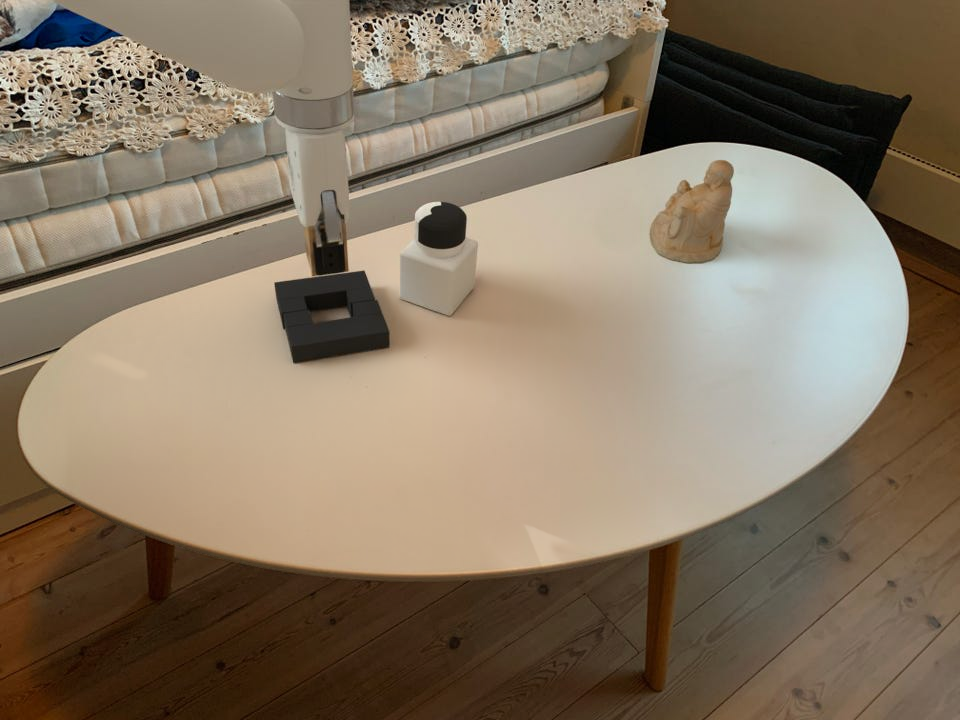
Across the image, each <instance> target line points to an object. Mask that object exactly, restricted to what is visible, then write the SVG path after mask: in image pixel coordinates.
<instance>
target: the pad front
mask: <svg viewBox="0 0 960 720" xmlns="http://www.w3.org/2000/svg"><path fill="white" fill-rule="evenodd" d="M352 305H353V317H350V316H349V317H345V318H338V319H331V320H325V321H318V322H314V321H313V318H312V313H311V312H310V310H303V311H297V312H290V313H284V314H283V315H284V323H285V329H284V331H285V334H286V338H287V342H288V348H289V351H290V355H291V360H292V363H293V364H297V363H302V362H309V361H315V360H321V359H328V358H334V357H340V356H346V355H350V354H357V353H363V352H364V353H365V352H369V351H375V350H380V349H381V350H382V349H388V348H390V329H389V327H388V324H387V321H386V319H385V316H384V314H383V311H382V309H381V306H380V302H379V300H378V299H375V300H371V301H365V302H358V303H353V304H352Z"/></svg>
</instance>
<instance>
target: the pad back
mask: <svg viewBox="0 0 960 720" xmlns="http://www.w3.org/2000/svg"><path fill="white" fill-rule="evenodd" d="M366 273H367V272H366V271H365V269H364V270H358V271H348V272H342V273H336V274H328V275H321V276H312V277H304V278H296V279H289V280H282V281H274V282H273V284H274V293H275V299H276V303H277V307H278V312H279V316H280V320H281V321H280V322H281V325H282V329H283V330H285V323H284V315H283V314H284V313H290V312H297V311H303V310H310V313H311V312H319V311H325V310H331V309H332V310H333V309H338V308H347V310H348V314H349V318H350V317H353V305H352V304H353V303H358V302H365V301H371V300H376V297H375V295H374V291H373V289H372V287H371V284H370V281H369V278H368V276H367V274H366Z"/></svg>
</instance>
